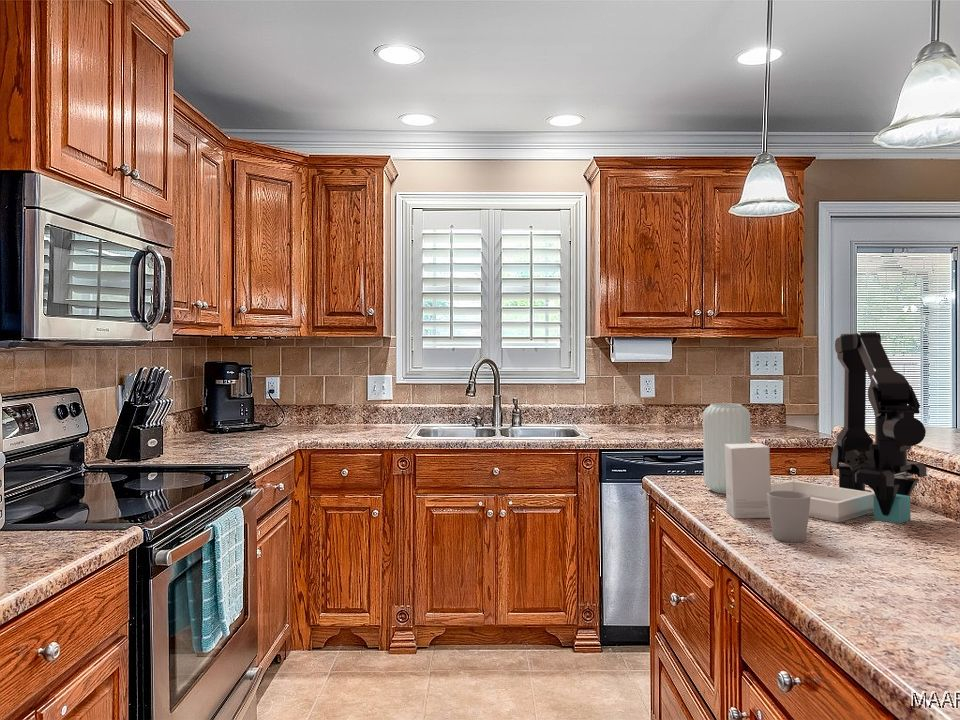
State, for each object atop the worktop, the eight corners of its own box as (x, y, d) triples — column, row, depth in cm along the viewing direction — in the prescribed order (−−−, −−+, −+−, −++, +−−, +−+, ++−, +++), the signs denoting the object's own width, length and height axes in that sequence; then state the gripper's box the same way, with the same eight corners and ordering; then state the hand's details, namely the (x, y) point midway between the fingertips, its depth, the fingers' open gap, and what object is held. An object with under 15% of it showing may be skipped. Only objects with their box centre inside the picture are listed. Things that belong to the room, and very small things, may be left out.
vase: (745, 486, 181) (744, 402, 181) (756, 495, 170) (755, 406, 169) (700, 486, 183) (699, 403, 182) (708, 495, 171) (707, 406, 171)
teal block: (885, 515, 147) (885, 492, 147) (910, 519, 143) (910, 496, 143) (873, 518, 145) (873, 495, 145) (899, 523, 140) (898, 499, 140)
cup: (767, 542, 129) (767, 497, 129) (767, 529, 138) (767, 487, 138) (812, 545, 126) (811, 499, 126) (809, 532, 135) (808, 489, 135)
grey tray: (791, 496, 168) (791, 480, 168) (876, 511, 151) (876, 493, 151) (752, 505, 159) (752, 488, 159) (838, 522, 142) (838, 503, 142)
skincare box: (763, 512, 153) (762, 442, 152) (773, 519, 146) (772, 446, 146) (724, 512, 153) (723, 442, 153) (732, 519, 147) (731, 447, 147)
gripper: (873, 432, 156) (874, 500, 156) (829, 439, 145) (830, 513, 145) (927, 437, 146) (928, 509, 147) (884, 445, 136) (885, 523, 136)
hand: (891, 513), depth 144 cm, fingers closed on teal block, 5 cm apart
